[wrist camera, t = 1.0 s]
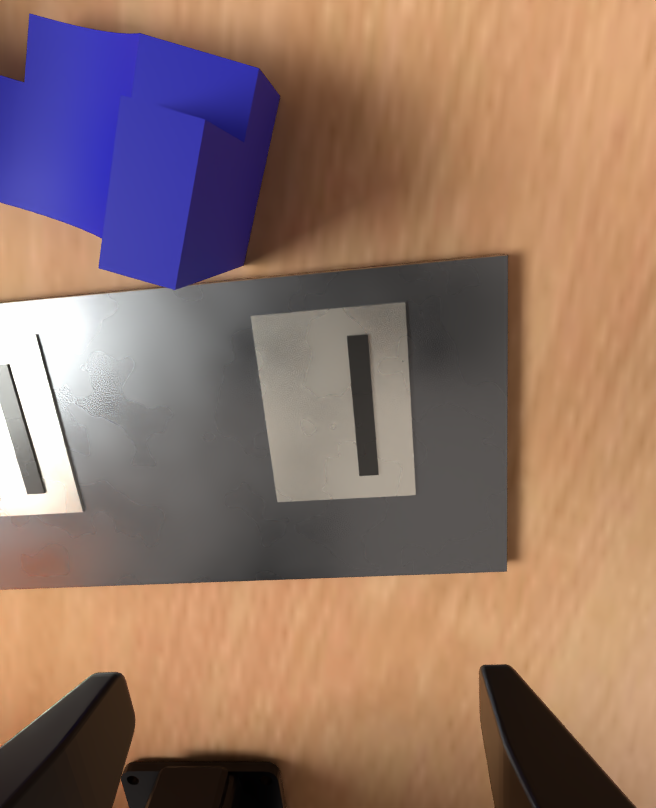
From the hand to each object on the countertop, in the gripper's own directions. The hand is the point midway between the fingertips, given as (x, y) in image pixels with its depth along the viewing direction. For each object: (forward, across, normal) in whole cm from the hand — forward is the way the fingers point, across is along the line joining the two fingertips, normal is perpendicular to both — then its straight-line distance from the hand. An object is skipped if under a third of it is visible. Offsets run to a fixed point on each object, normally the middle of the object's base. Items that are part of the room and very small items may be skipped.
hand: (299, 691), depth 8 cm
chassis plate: (+10, +6, 0) cm, 12 cm away
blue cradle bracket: (+10, +7, -10) cm, 16 cm away
